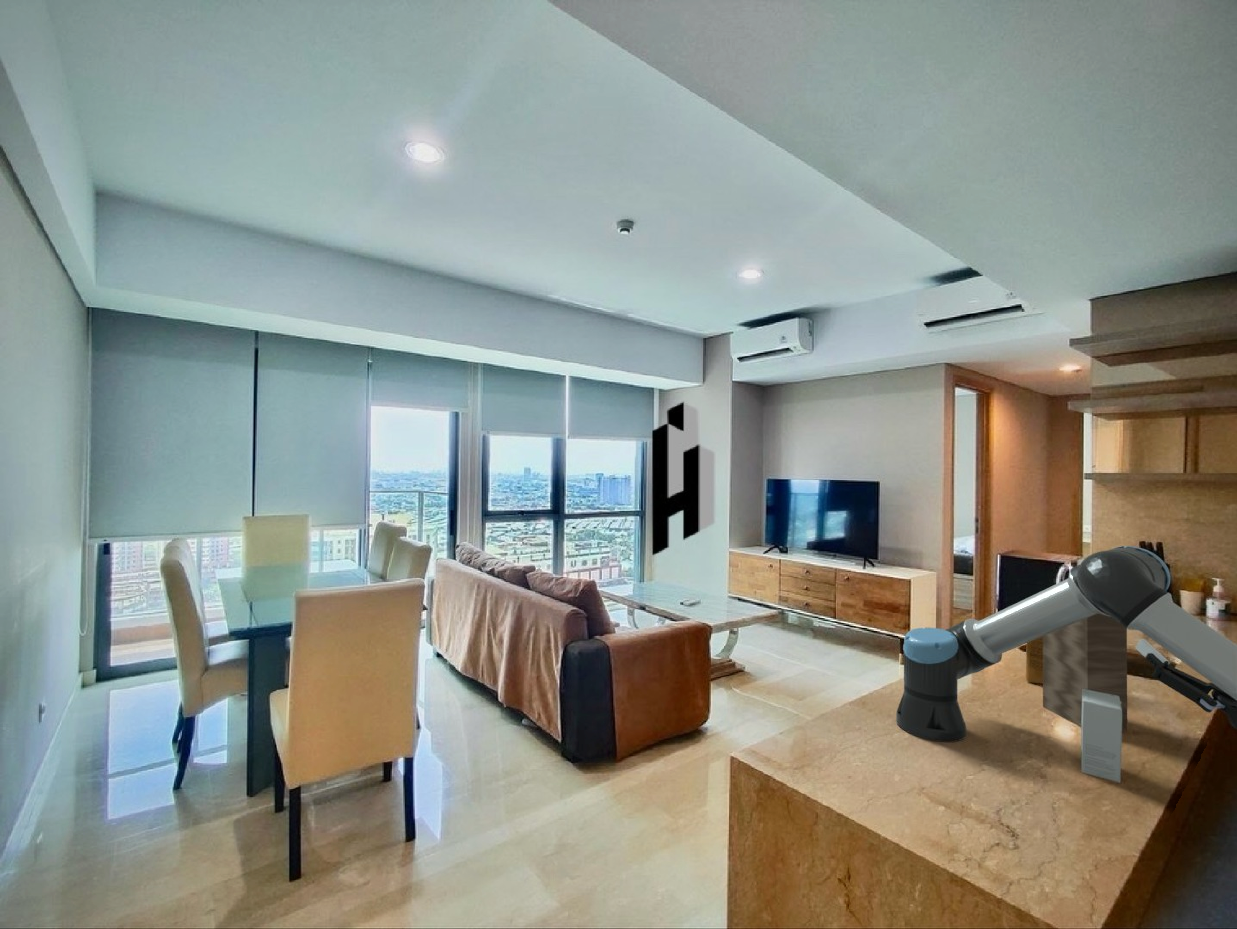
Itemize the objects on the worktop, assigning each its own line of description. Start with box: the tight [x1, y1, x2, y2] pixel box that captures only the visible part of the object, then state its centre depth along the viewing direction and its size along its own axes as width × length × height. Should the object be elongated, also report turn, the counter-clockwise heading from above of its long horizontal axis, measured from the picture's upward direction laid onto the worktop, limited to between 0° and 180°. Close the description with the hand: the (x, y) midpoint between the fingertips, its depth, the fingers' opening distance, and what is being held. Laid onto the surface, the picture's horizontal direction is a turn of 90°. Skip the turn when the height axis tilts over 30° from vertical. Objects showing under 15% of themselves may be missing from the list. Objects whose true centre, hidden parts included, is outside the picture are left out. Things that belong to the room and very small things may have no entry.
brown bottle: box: [1025, 636, 1043, 685], centre depth 170 cm, size 10×12×22 cm
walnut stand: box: [1042, 613, 1128, 731], centre depth 145 cm, size 14×10×30 cm
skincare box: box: [1080, 689, 1123, 784], centre depth 119 cm, size 8×7×16 cm
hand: (1169, 643), depth 123 cm, fingers open, 13 cm apart
